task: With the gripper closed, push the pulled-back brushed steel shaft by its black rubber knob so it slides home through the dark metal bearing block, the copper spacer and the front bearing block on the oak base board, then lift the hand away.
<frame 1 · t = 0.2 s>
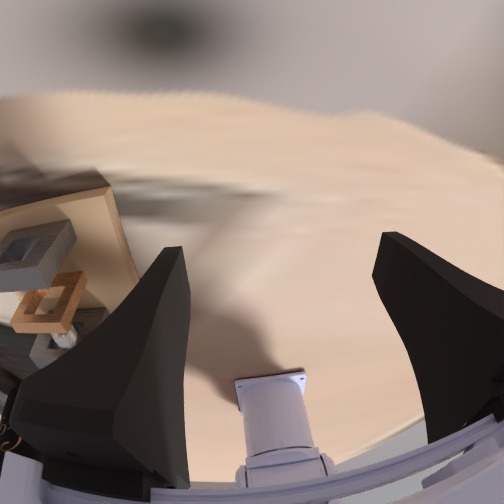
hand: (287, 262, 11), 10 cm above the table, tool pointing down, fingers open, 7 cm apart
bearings: (48, 301, 18), on the base board, point 4 cm above the table
coffee jar: (39, 402, 35), on the table
base board: (88, 311, 25), on the table
shaft: (100, 385, 24), point 4 cm above the table, slide at 0.0 cm
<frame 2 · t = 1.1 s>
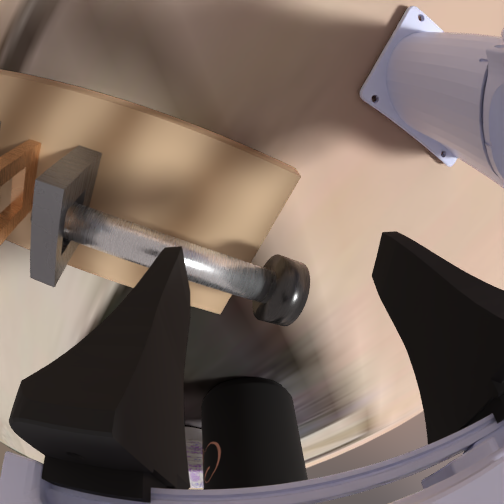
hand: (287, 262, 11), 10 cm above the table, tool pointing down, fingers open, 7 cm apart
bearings: (9, 192, 13), on the base board, point 4 cm above the table
coffee jar: (246, 395, 34), on the table
base board: (102, 188, 18), on the table
paper bowls: (184, 434, 41), on the table
shaft: (165, 253, 16), point 5 cm above the table, slide at 0.0 cm
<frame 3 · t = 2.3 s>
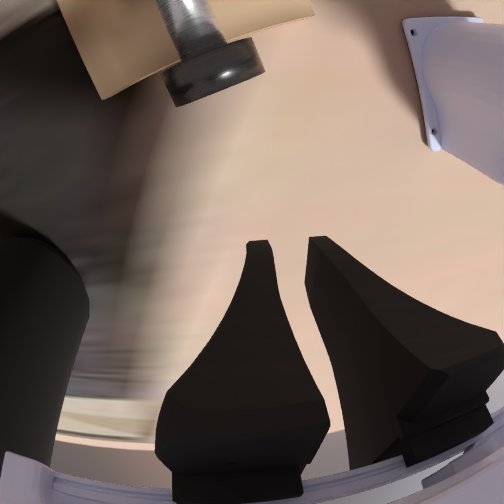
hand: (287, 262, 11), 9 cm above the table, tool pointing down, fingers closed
coffee jar: (40, 281, 22), on the table
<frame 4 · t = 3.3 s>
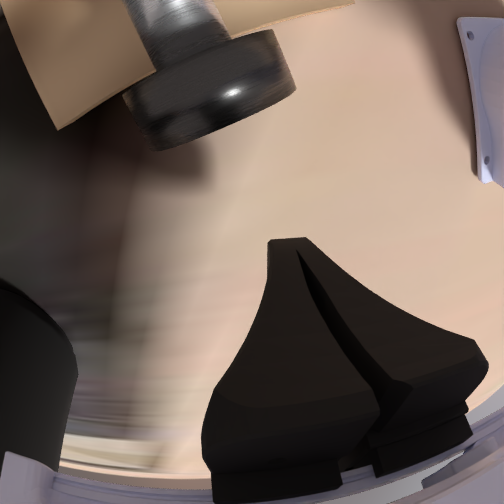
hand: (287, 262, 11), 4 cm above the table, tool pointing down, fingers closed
coffee jar: (21, 333, 18), on the table
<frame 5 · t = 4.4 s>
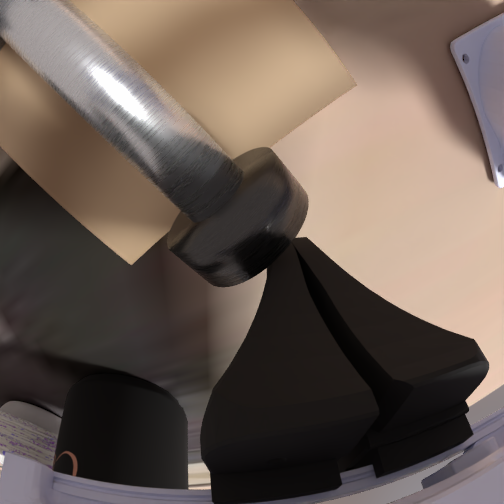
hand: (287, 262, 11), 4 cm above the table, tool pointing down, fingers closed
coffee jar: (128, 400, 23), on the table
base board: (61, 0, 7), on the table
paper bowls: (43, 418, 26), on the table
shaft: (65, 47, 6), point 5 cm above the table, slide at 1.3 cm
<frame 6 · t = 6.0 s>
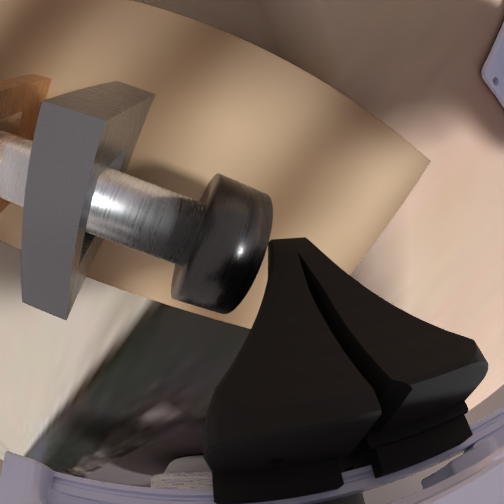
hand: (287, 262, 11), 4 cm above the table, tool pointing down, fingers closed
base board: (141, 157, 12), on the table
paper bowls: (207, 462, 35), on the table
shaft: (16, 169, 7), point 5 cm above the table, slide at 8.8 cm, touching gripper
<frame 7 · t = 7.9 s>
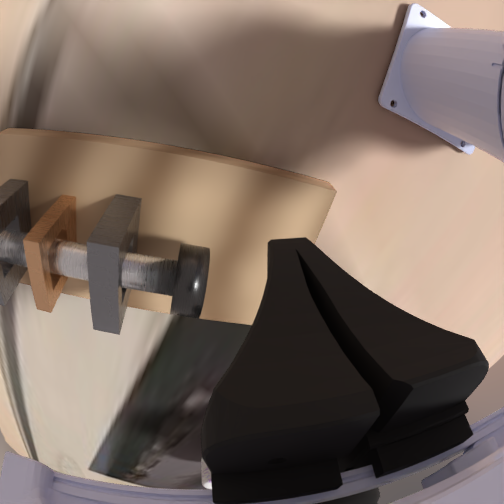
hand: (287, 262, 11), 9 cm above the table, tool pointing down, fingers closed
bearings: (54, 251, 15), on the base board, point 4 cm above the table
coffee jar: (304, 395, 35), on the table
base board: (144, 229, 20), on the table
shaft: (71, 259, 15), point 5 cm above the table, slide at 8.9 cm
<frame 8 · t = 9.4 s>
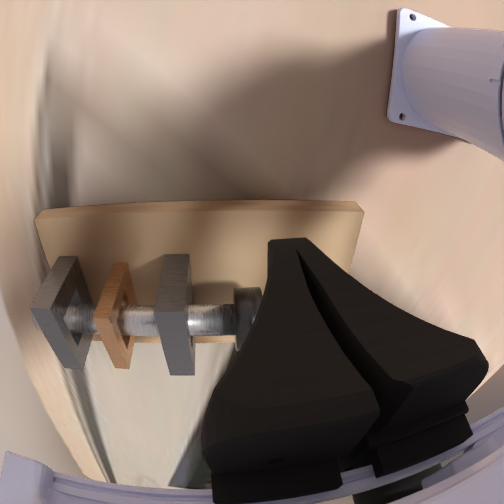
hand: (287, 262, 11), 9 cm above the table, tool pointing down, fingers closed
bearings: (120, 315, 19), on the base board, point 4 cm above the table
coffee jar: (365, 386, 36), on the table
base board: (196, 275, 23), on the table
shaft: (138, 320, 19), point 5 cm above the table, slide at 8.9 cm
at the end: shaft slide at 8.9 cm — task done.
